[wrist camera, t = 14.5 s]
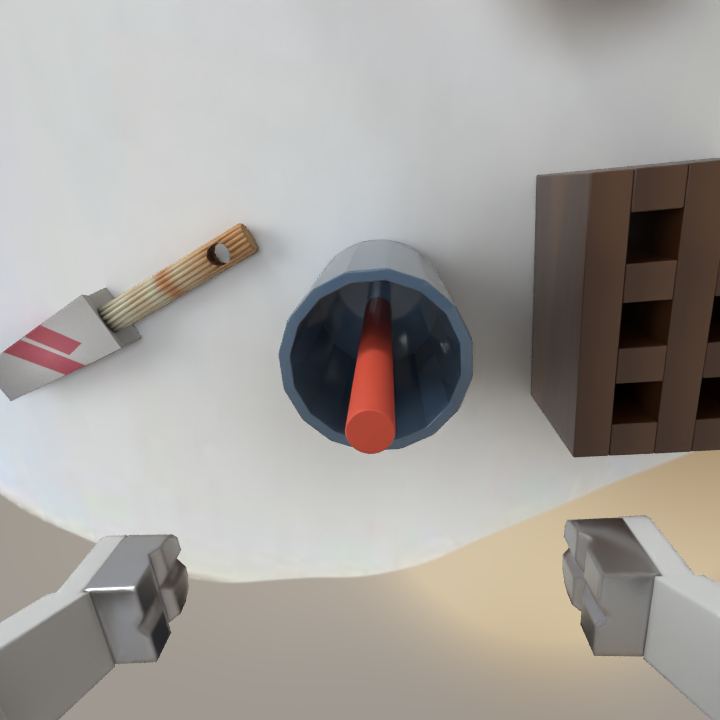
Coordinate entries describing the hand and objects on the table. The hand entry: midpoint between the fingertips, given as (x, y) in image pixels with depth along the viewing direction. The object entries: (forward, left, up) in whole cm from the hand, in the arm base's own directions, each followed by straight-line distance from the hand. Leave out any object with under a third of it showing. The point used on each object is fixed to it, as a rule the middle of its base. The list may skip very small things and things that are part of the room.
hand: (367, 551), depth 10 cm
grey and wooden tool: (+17, -1, -23) cm, 28 cm away
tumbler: (0, 0, -22) cm, 22 cm away
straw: (0, 0, -22) cm, 22 cm away
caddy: (-14, 0, -22) cm, 27 cm away
